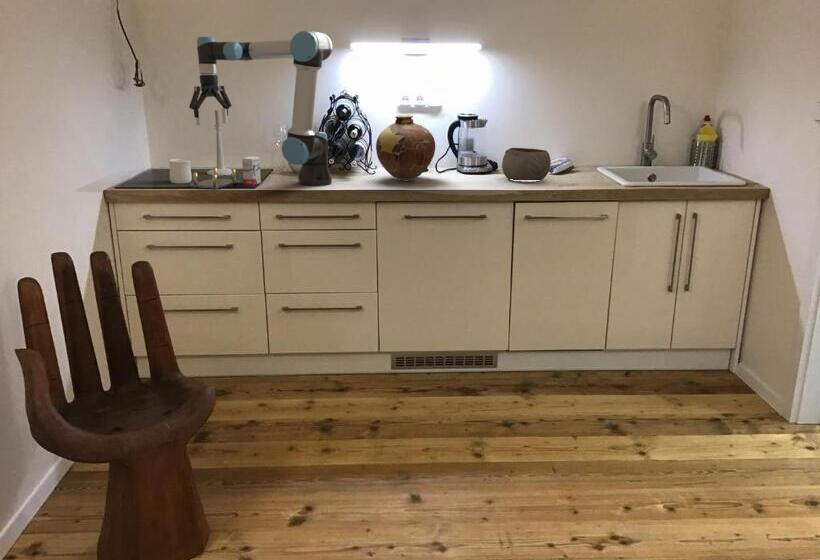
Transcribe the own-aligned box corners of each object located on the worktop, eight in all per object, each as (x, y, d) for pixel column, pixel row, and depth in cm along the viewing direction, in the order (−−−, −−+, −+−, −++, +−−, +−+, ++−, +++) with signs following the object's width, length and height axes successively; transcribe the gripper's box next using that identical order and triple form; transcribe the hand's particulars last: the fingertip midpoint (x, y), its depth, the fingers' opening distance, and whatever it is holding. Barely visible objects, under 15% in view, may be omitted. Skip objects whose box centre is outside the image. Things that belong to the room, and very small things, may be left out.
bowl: (559, 182, 331) (562, 150, 327) (526, 186, 318) (529, 153, 313) (523, 175, 349) (525, 145, 344) (491, 179, 335) (493, 147, 330)
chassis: (240, 182, 311) (239, 169, 309) (217, 189, 295) (216, 175, 293) (213, 180, 315) (212, 167, 313) (189, 186, 299) (188, 172, 297)
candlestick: (230, 176, 327) (226, 110, 318) (203, 175, 328) (199, 110, 319) (237, 171, 340) (234, 108, 330) (212, 171, 340) (207, 108, 331)
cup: (179, 184, 304) (177, 162, 301) (164, 182, 309) (162, 160, 306) (196, 181, 312) (195, 159, 309) (181, 179, 317) (180, 157, 314)
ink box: (253, 185, 304) (252, 158, 301) (243, 185, 305) (241, 158, 302) (261, 182, 313) (260, 156, 309) (251, 182, 313) (249, 155, 310)
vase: (416, 188, 307) (418, 119, 298) (364, 181, 320) (364, 115, 311) (444, 179, 331) (447, 115, 322) (395, 174, 343) (396, 111, 334)
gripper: (227, 74, 313) (230, 122, 319) (178, 74, 294) (182, 125, 301) (237, 74, 308) (240, 123, 314) (188, 74, 290) (192, 126, 296)
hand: (212, 124), depth 308 cm, fingers open, 13 cm apart
